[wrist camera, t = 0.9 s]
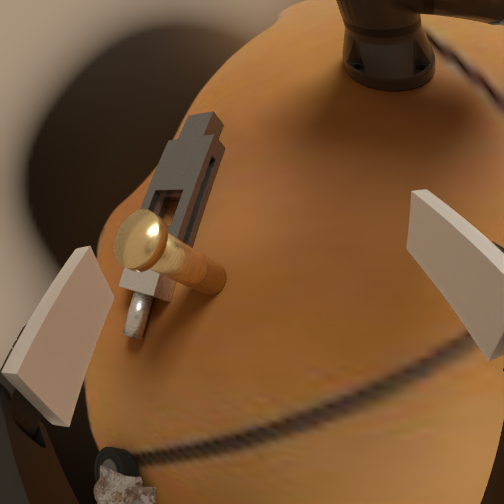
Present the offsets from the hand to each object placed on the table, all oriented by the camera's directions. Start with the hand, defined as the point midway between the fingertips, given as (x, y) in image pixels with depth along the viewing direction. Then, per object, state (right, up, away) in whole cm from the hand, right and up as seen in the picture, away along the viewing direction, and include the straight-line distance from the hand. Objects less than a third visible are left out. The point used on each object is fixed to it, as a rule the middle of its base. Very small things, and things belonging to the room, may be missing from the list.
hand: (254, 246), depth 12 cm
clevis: (-11, +5, +33) cm, 35 cm away
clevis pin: (-5, -4, +27) cm, 28 cm away
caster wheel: (-17, -33, +21) cm, 43 cm away
